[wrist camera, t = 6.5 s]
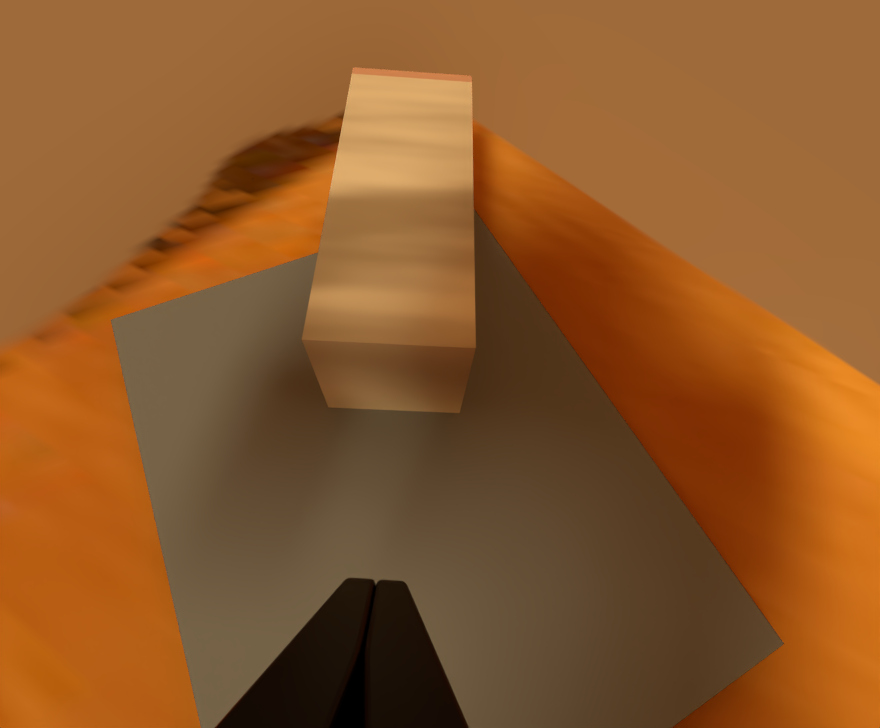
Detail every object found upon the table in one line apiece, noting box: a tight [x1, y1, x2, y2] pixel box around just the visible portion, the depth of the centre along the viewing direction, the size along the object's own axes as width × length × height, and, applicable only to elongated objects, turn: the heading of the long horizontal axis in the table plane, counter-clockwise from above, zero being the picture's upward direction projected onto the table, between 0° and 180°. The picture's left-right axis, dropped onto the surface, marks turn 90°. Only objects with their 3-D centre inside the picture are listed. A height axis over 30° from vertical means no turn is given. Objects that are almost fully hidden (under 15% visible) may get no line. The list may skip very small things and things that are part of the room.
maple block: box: [302, 67, 476, 413], centre depth 17 cm, size 4×4×12 cm
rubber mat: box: [111, 210, 784, 728], centre depth 16 cm, size 15×19×1 cm
